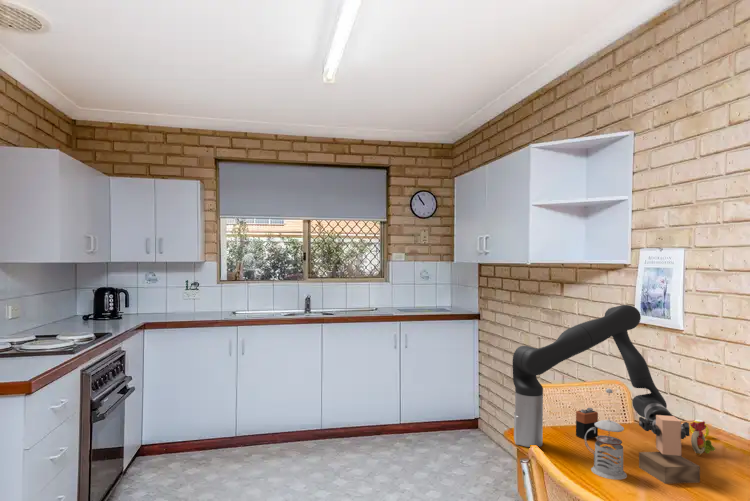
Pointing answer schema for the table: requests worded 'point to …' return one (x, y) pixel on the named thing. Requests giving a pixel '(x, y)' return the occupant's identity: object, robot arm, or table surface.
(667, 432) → the terracotta block
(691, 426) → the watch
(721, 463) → the table surface
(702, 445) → the bird rattle
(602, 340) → the robot arm
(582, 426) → the battery
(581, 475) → the table surface
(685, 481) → the walnut block
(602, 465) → the french press
